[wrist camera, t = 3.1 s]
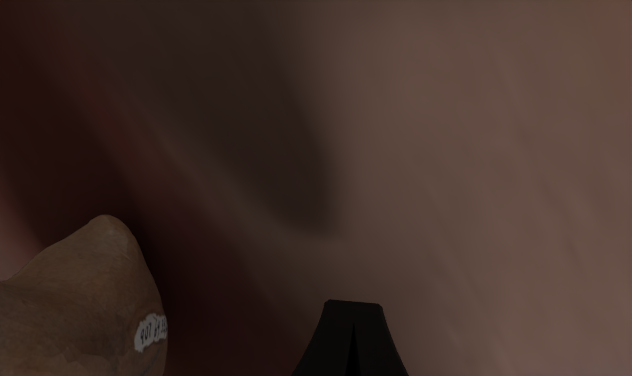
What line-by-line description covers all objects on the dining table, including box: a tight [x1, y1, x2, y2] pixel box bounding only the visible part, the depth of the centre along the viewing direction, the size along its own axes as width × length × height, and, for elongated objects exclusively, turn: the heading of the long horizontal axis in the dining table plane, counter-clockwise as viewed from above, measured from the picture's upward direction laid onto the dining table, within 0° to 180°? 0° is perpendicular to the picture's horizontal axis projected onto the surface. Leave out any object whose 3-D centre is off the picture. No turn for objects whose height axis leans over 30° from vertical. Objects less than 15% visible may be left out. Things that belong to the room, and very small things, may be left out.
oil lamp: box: [0, 215, 168, 376], centre depth 12 cm, size 9×4×8 cm, turn 0°
